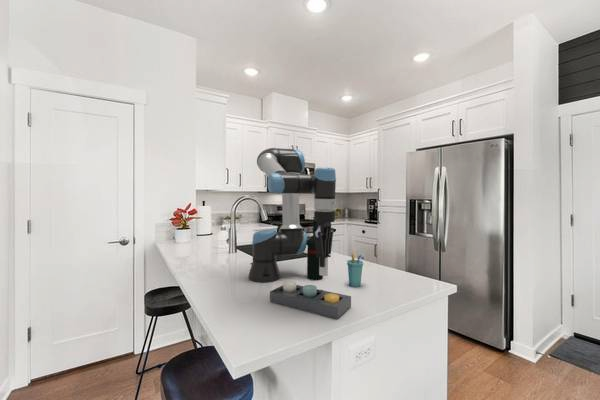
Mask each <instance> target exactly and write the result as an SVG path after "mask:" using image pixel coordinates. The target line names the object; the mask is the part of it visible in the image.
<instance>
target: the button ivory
mask: <svg viewBox="0 0 600 400" xmlns="http://www.w3.org/2000/svg"><path fill="white" fill-rule="evenodd" d="M282 285H283V291H284V292H288V293H294V292H295V291H296V285H297V282H296V281H293V280H286V281H283V282H282Z"/></svg>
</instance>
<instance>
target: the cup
mask: <svg viewBox="0 0 600 400" xmlns="http://www.w3.org/2000/svg"><path fill="white" fill-rule="evenodd" d="M360 258H361V259H362V260H364V259H365V258H364V256H362V254H358V256H357V259H355V253H354V252H352V253H351V259H349V260H346V264H347V275H348V285H349V286H350V287H352V288H353V287H354V288H359V287H361V284H362V283H361V282H362V274H363V273H362V272H363V266H364V261H362V260H360Z"/></svg>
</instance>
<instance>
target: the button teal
mask: <svg viewBox="0 0 600 400" xmlns="http://www.w3.org/2000/svg"><path fill="white" fill-rule="evenodd" d="M302 286H303V296H306V297H310V298H314V297H316V296H317V289H318V288H317V287H318V286H316V285H313V284H306V285H305V284H304V285H302Z"/></svg>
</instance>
